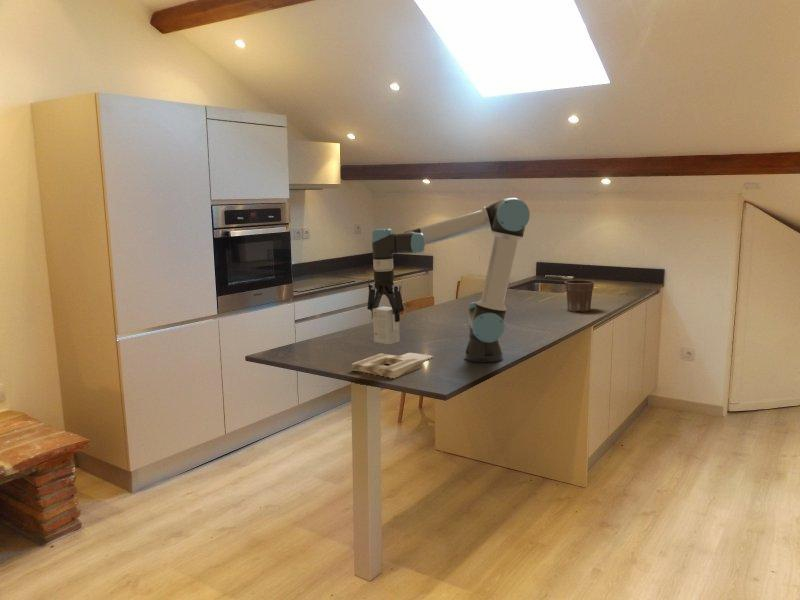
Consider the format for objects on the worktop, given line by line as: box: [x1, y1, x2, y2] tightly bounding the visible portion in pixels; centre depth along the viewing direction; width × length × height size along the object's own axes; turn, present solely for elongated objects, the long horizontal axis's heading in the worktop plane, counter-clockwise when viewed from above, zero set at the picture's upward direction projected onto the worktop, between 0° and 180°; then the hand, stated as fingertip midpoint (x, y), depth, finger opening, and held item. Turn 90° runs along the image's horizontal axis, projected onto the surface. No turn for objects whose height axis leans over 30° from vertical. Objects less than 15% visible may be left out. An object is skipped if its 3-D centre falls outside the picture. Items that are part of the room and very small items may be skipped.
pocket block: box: [351, 352, 423, 379], centre depth 241 cm, size 20×18×3 cm
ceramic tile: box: [400, 352, 434, 363], centre depth 255 cm, size 12×10×1 cm
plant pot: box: [564, 279, 596, 313], centre depth 347 cm, size 16×16×16 cm
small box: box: [372, 305, 401, 345], centre depth 238 cm, size 8×6×13 cm
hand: (386, 329), depth 239 cm, fingers closed on small box, 8 cm apart
